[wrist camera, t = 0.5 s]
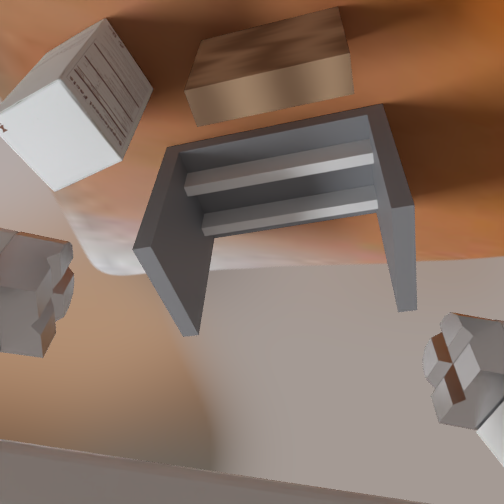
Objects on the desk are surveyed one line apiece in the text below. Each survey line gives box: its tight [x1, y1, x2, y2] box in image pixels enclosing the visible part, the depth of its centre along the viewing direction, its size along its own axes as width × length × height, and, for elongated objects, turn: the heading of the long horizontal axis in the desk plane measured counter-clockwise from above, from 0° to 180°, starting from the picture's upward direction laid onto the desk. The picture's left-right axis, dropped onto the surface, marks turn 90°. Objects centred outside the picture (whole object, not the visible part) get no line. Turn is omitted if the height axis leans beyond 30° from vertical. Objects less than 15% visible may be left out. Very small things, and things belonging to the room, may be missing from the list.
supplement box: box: [0, 18, 153, 192], centre depth 40 cm, size 7×7×13 cm
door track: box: [132, 104, 417, 337], centre depth 46 cm, size 22×12×16 cm, turn 104°
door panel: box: [184, 6, 354, 127], centre depth 38 cm, size 12×3×10 cm, turn 104°
